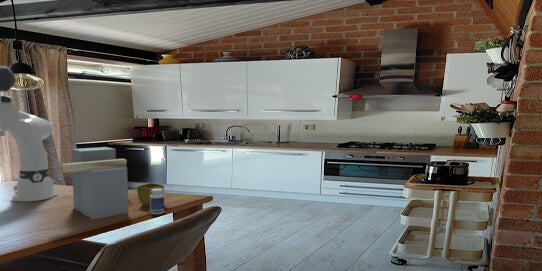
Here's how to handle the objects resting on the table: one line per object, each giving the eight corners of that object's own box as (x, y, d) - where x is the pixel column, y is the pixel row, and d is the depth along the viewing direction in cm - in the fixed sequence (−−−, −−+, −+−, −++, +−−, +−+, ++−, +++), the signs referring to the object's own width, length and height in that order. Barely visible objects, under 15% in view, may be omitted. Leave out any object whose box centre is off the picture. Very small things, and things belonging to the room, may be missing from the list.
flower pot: (165, 204, 167) (164, 184, 166) (149, 208, 159) (149, 188, 159) (151, 201, 171) (151, 182, 171) (136, 205, 164) (136, 186, 163)
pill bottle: (166, 212, 153) (166, 189, 152) (154, 215, 148) (154, 191, 148) (159, 210, 157) (159, 187, 156) (147, 212, 152) (146, 189, 152)
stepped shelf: (73, 208, 159) (71, 149, 158) (106, 202, 169) (105, 147, 168) (92, 219, 142) (90, 153, 141) (128, 212, 152) (126, 151, 150)
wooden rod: (60, 171, 141) (60, 163, 141) (122, 165, 157) (122, 158, 157) (63, 172, 138) (63, 165, 138) (126, 166, 155) (126, 159, 154)
